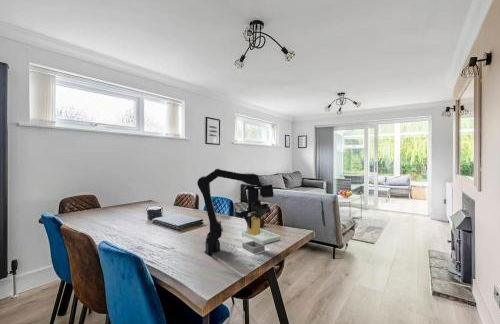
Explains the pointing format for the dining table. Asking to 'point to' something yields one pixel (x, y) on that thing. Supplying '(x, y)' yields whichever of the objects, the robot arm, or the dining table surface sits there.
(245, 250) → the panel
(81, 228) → the dining table surface
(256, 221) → the tan rectangular block
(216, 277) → the dining table surface
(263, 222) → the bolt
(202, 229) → the dining table surface
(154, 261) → the dining table surface
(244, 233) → the parts tray
